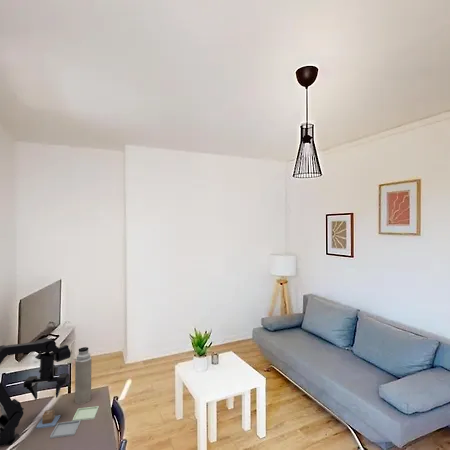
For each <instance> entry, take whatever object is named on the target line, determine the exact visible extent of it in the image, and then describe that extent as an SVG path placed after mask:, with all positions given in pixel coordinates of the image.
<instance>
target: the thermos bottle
mask: <svg viewBox="0 0 450 450" xmlns="http://www.w3.org/2000/svg"><path fill="white" fill-rule="evenodd" d="M74 366H75V368H74V369H75V370H74V374H75V375H74V376H75V377H74V378H75V379H74V381H75V382H74V389H75V391H74V402H75V404H76V405H77V404H78V405H82V404H86V403H88V402H90V401H91V400H92V357H91V353H90V352H89V347H87V346H85V347H80V348H78V354H77V355H76V359H75V364H74Z"/></svg>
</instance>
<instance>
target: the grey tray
mask: <svg viewBox="0 0 450 450" xmlns="http://www.w3.org/2000/svg"><path fill="white" fill-rule="evenodd" d="M80 424H81V420H78V421H72V420H71V421H63V422H57V423H56V425H55V426H54V429H53V430H52V432H51V434H50V436H49V439H51V440H52V439H56V438H64V437H72V436H73V437H74V436H75V435H76V432H77V431H78V428H79V426H80Z"/></svg>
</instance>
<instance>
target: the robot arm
mask: <svg viewBox="0 0 450 450" xmlns="http://www.w3.org/2000/svg"><path fill="white" fill-rule="evenodd" d="M35 352H36V353H38V354H37V355H36V356H35V358H34V359H37V360H39V361H40V362H39V370H38V374H39V377H38V375H37V376H36V375H33V376H28V377H27V378H26V379H25V380H24V381H23V383H22V387H23V389H24V388H25V389H26V390H29V392H30V394H32V396H33V398H34V400H38V384H41V383H55V382H56V385H55V398H56V399H57V398H58V397H59V394H60V391H61V388H62V387H63V386H64V385H65V384H67V383H68V381H69V380H70V374H69V373H60V374H59V375H58V376H57V374H58V371H59V366H56V365H55V362H57V363H59V362H62V361H64V360H68V359H70V358H71V355H72V352H71V350H70V348H69V345H68V344H65V345H62V346H59V347H58V346H57V343H56V341H55V340H54V339H50V338H48V337H43V338H41V339H37V340H35V341H33V342H25V343H24V342H23V343H15V344H8V345H6V344H3V345H0V365H1V364H2V363H3V361H4V359H5V358H6V357H7V356H12V355H21V354H27V353H28V354H29V353H35ZM24 410H25V409H24V407H22V404H21V402H20V401H18V400H17V399H16V398H13V399H11V397H10V395H9V394H8V392H7V391H6V389H5V387H4V386H3V384H2V382H1V381H0V412H1V415H0V447H2V446H9V445H13V444H14V442H15V441H16V439H17V438H18V437H19V436H20V435H19V433H16V430H17V428H19V424H20V421H21V419H22V418H23V415H24Z"/></svg>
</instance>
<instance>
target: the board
mask: <svg viewBox="0 0 450 450" xmlns="http://www.w3.org/2000/svg"><path fill="white" fill-rule="evenodd" d="M60 418H61V414H59V415H55V418H54V420H53V422H52V423H47V424H42V418H41V419H40V421H39V422H38V424H37V425H36V427H35V429H46V428H52V427H54V428H55V427H56V425H57V424H58V423H59V420H60Z"/></svg>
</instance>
